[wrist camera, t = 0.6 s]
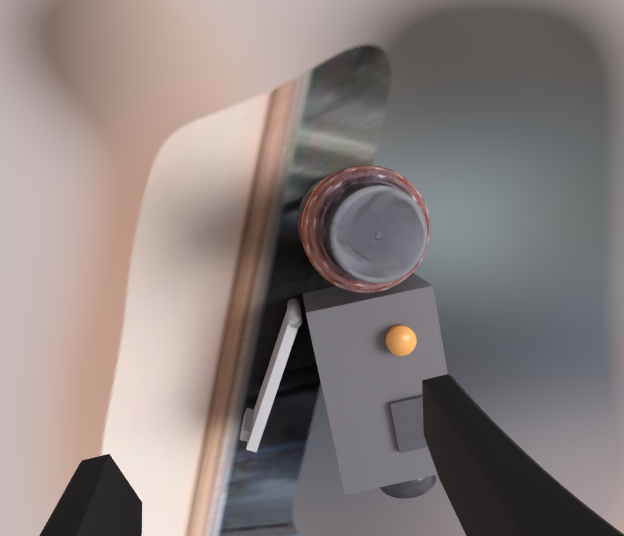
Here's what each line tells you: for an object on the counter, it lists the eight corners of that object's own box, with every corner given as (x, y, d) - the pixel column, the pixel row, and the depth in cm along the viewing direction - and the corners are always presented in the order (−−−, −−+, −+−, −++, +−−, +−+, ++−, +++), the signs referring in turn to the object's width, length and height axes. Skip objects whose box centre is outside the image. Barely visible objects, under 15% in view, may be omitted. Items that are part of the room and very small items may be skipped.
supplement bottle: (372, 279, 31) (420, 329, 20) (283, 250, 31) (282, 284, 19) (404, 190, 30) (474, 190, 19) (314, 158, 30) (332, 139, 19)
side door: (261, 420, 32) (258, 452, 28) (243, 415, 32) (237, 447, 28) (301, 300, 31) (303, 316, 27) (283, 294, 31) (283, 310, 27)
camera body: (440, 449, 33) (471, 501, 28) (340, 472, 33) (351, 528, 28) (409, 270, 31) (436, 287, 26) (302, 293, 31) (306, 315, 26)
